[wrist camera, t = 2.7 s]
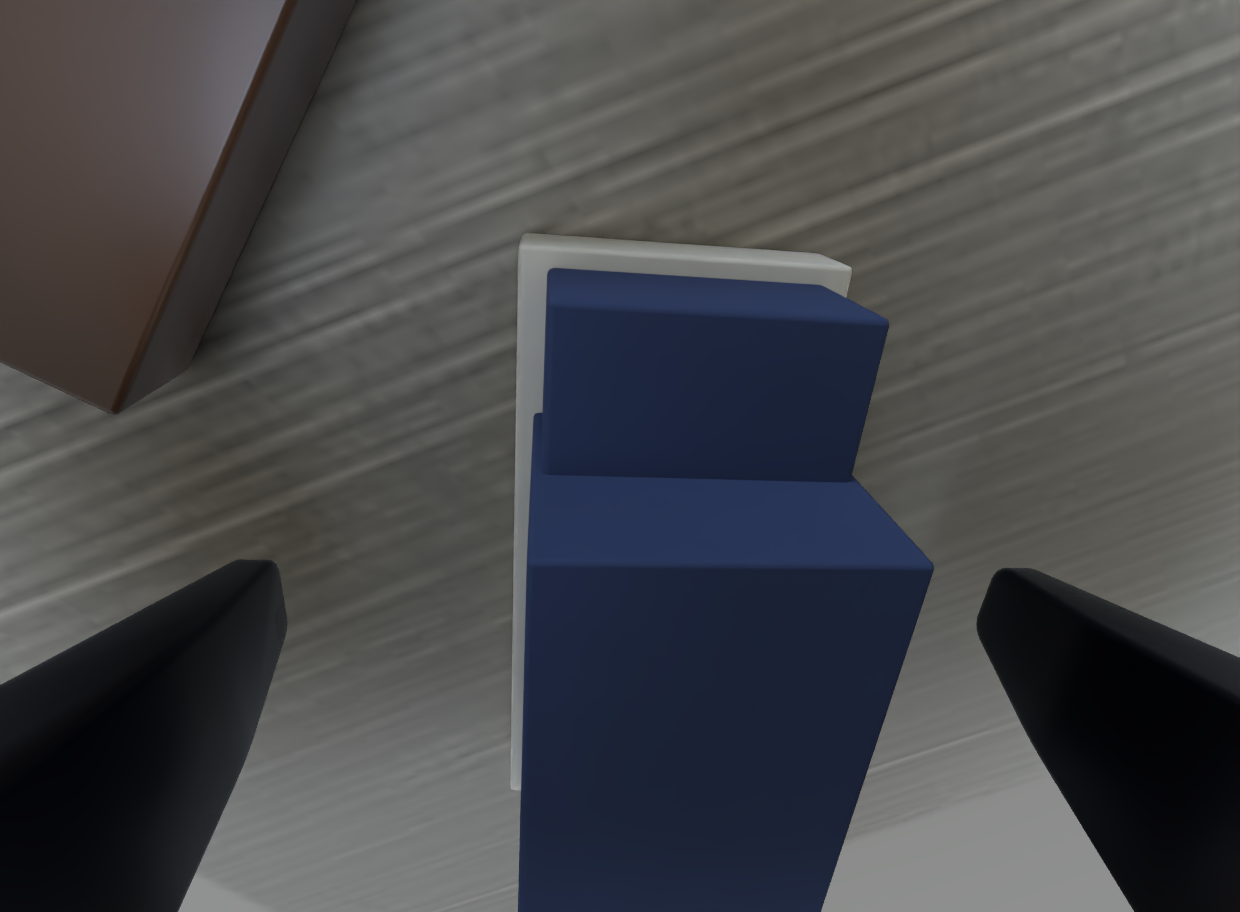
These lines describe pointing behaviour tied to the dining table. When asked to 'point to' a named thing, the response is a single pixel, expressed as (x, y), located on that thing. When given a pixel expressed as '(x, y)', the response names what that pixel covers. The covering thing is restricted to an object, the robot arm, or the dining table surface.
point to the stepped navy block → (695, 576)
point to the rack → (139, 173)
